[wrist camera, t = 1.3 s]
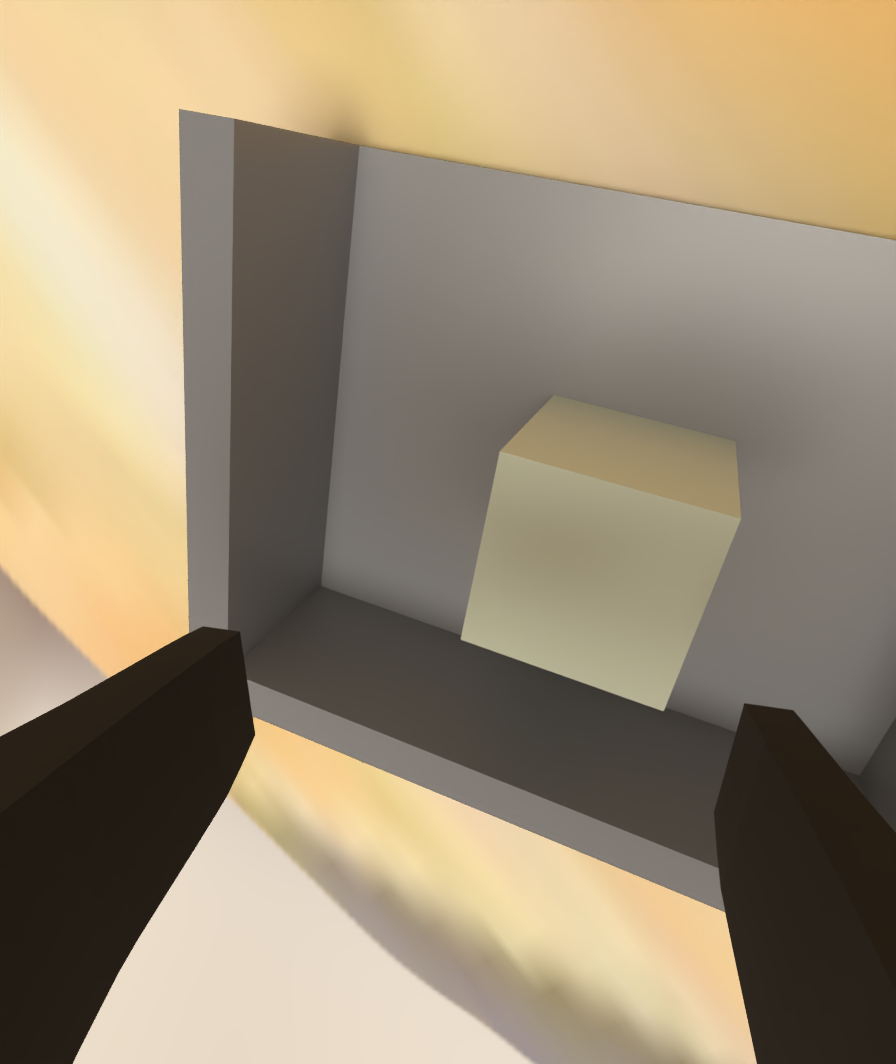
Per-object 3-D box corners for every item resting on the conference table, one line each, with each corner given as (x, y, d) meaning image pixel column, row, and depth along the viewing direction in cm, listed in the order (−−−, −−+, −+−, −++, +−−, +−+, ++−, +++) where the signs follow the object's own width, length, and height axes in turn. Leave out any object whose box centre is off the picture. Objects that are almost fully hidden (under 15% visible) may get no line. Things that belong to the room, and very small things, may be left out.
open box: (1216, 297, 13) (1510, 342, 8) (882, 807, 19) (936, 999, 15) (328, 140, 17) (178, 108, 13) (296, 596, 24) (190, 690, 19)
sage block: (735, 441, 16) (741, 518, 12) (676, 597, 18) (663, 711, 14) (554, 394, 17) (500, 451, 13) (517, 547, 19) (460, 639, 15)
